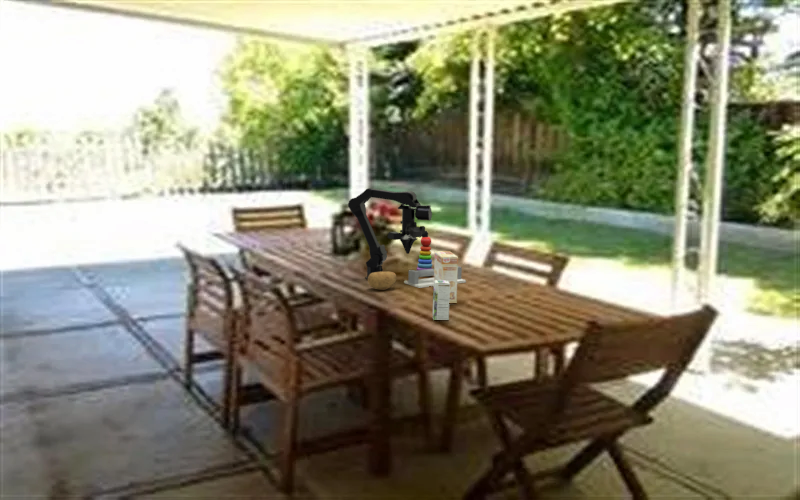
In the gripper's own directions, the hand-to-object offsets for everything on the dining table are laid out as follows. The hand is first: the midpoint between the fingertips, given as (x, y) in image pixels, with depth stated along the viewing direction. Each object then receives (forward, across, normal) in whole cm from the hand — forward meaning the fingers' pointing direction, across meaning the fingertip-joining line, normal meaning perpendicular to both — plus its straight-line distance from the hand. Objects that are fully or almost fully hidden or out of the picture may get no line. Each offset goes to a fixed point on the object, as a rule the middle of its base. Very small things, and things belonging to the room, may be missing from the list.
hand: (407, 253), depth 406 cm
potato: (+13, -19, -9) cm, 25 cm away
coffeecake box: (+13, -8, -40) cm, 43 cm away
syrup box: (+13, -29, -66) cm, 73 cm away
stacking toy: (+13, +16, +9) cm, 23 cm away
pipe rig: (+13, +10, -8) cm, 18 cm away
